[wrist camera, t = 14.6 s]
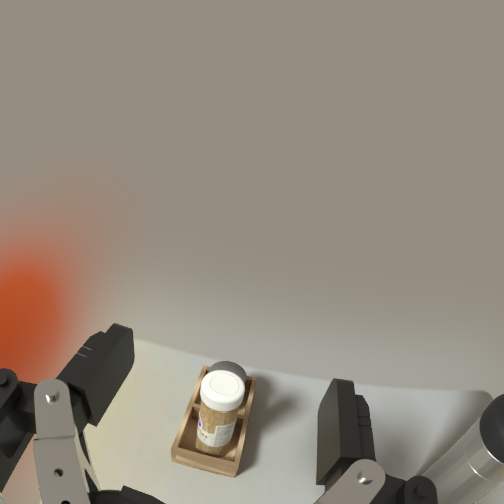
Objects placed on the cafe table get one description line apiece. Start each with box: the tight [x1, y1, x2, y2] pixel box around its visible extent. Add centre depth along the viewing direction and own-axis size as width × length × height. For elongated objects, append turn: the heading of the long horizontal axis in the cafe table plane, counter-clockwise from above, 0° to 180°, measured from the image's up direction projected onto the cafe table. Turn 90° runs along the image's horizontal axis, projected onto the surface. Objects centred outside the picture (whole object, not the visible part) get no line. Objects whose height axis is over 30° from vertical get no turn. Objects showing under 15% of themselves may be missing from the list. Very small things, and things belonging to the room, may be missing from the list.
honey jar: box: [209, 361, 246, 384], centre depth 42 cm, size 5×5×7 cm
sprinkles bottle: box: [195, 370, 245, 458], centre depth 33 cm, size 5×5×14 cm
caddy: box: [171, 366, 257, 477], centre depth 39 cm, size 16×8×4 cm, turn 172°
